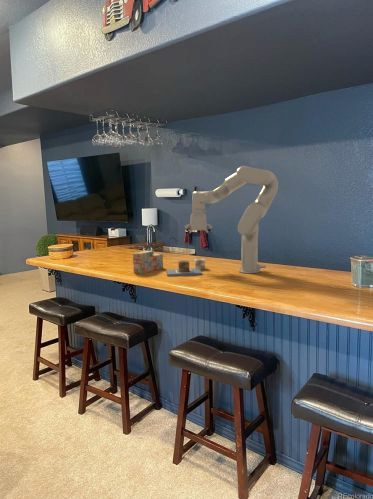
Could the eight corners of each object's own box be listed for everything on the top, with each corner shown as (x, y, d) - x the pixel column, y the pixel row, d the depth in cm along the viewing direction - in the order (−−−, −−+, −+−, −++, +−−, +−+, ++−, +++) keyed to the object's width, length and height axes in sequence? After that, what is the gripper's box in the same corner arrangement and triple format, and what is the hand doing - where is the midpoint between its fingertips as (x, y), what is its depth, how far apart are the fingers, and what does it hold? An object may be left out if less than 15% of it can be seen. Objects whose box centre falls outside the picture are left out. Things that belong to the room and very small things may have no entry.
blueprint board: (199, 270, 230) (198, 268, 229) (202, 274, 216) (202, 272, 216) (166, 271, 228) (166, 269, 228) (167, 276, 214) (167, 274, 214)
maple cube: (203, 267, 238) (203, 258, 237) (205, 269, 232) (204, 260, 231) (194, 268, 237) (194, 258, 237) (195, 270, 231) (195, 260, 231)
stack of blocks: (155, 267, 244) (155, 248, 242) (163, 268, 240) (162, 249, 239) (133, 273, 226) (132, 253, 225) (141, 274, 223) (140, 253, 221)
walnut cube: (188, 270, 225) (188, 260, 224) (189, 272, 219) (189, 261, 218) (178, 270, 224) (178, 260, 224) (179, 272, 218) (178, 262, 218)
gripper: (211, 211, 234) (211, 238, 237) (183, 211, 233) (184, 239, 235) (213, 211, 227) (213, 239, 229) (184, 212, 225) (185, 240, 228)
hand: (198, 239), depth 232 cm, fingers open, 9 cm apart
